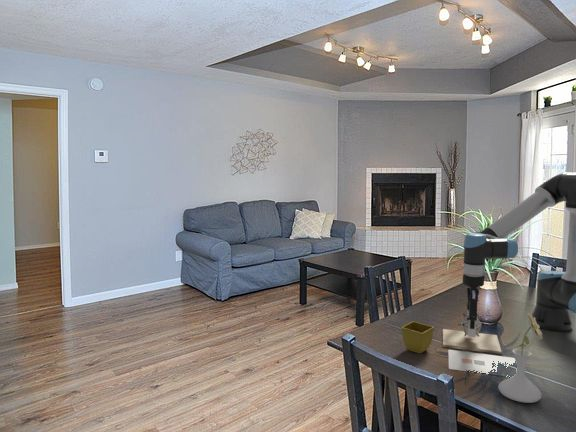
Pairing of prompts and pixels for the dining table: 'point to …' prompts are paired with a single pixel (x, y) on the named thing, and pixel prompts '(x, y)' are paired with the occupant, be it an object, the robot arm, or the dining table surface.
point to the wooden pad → (471, 341)
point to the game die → (465, 325)
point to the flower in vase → (522, 373)
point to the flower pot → (417, 336)
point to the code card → (476, 361)
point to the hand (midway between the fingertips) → (470, 331)
